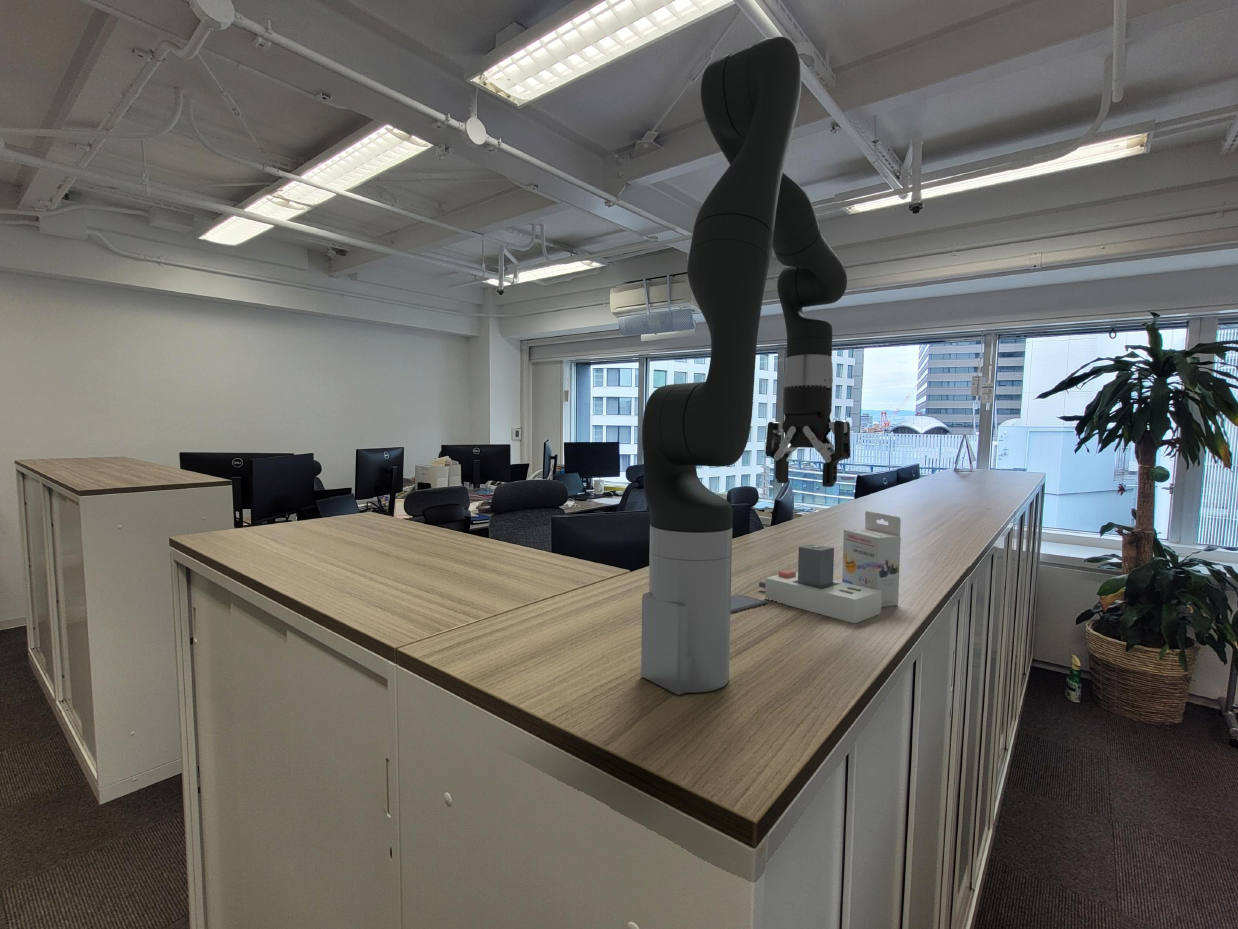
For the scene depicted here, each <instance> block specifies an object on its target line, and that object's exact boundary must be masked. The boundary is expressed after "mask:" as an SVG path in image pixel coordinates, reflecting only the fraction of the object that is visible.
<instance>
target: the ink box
mask: <svg viewBox="0 0 1238 929" xmlns="http://www.w3.org/2000/svg"><path fill="white" fill-rule="evenodd" d="M864 520H865V524H864V526H865V528H844V529H843V543H842V546H843V548H842V571H841V572H842V576H841V580H842V581H841V582H843V583H848V584H853V585H857V586H862V587H866V588H871V589H875V590H880V591H882V596H881V608H885V607H894V606H898V605H899V594H900V591H899V588H900V563H901V560H900V559H901V540H902V538H901V522H902V521H901V520H902V519H901V518H900V516H895V515H891V514H885V513H879V512H872V511H868V510H867V511H865V514H864ZM882 520H883V521H884V522H887V523H888V524H883V523H878V522H877V521H882Z"/></svg>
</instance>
